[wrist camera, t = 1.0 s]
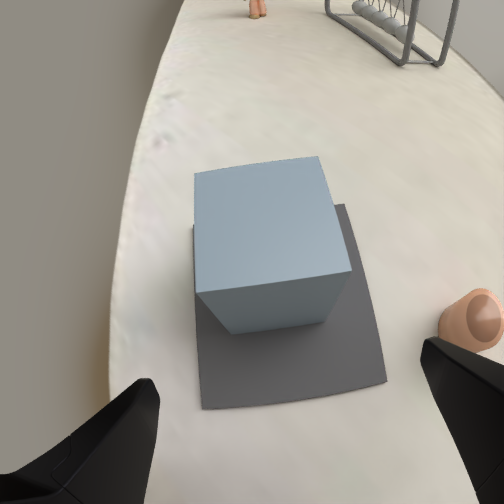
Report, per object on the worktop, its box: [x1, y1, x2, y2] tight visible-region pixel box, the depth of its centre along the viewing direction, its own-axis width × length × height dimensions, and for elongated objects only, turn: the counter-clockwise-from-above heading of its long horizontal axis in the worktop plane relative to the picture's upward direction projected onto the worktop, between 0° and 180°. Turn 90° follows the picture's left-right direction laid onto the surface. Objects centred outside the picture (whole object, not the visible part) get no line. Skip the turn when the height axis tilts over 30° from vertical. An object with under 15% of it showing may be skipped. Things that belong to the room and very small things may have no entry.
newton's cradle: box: [325, 0, 459, 67], centre depth 37 cm, size 30×10×18 cm, turn 16°
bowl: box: [438, 288, 504, 353], centre depth 19 cm, size 5×5×4 cm
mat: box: [193, 204, 387, 409], centre depth 24 cm, size 16×14×1 cm
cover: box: [194, 156, 352, 335], centre depth 20 cm, size 7×7×10 cm
